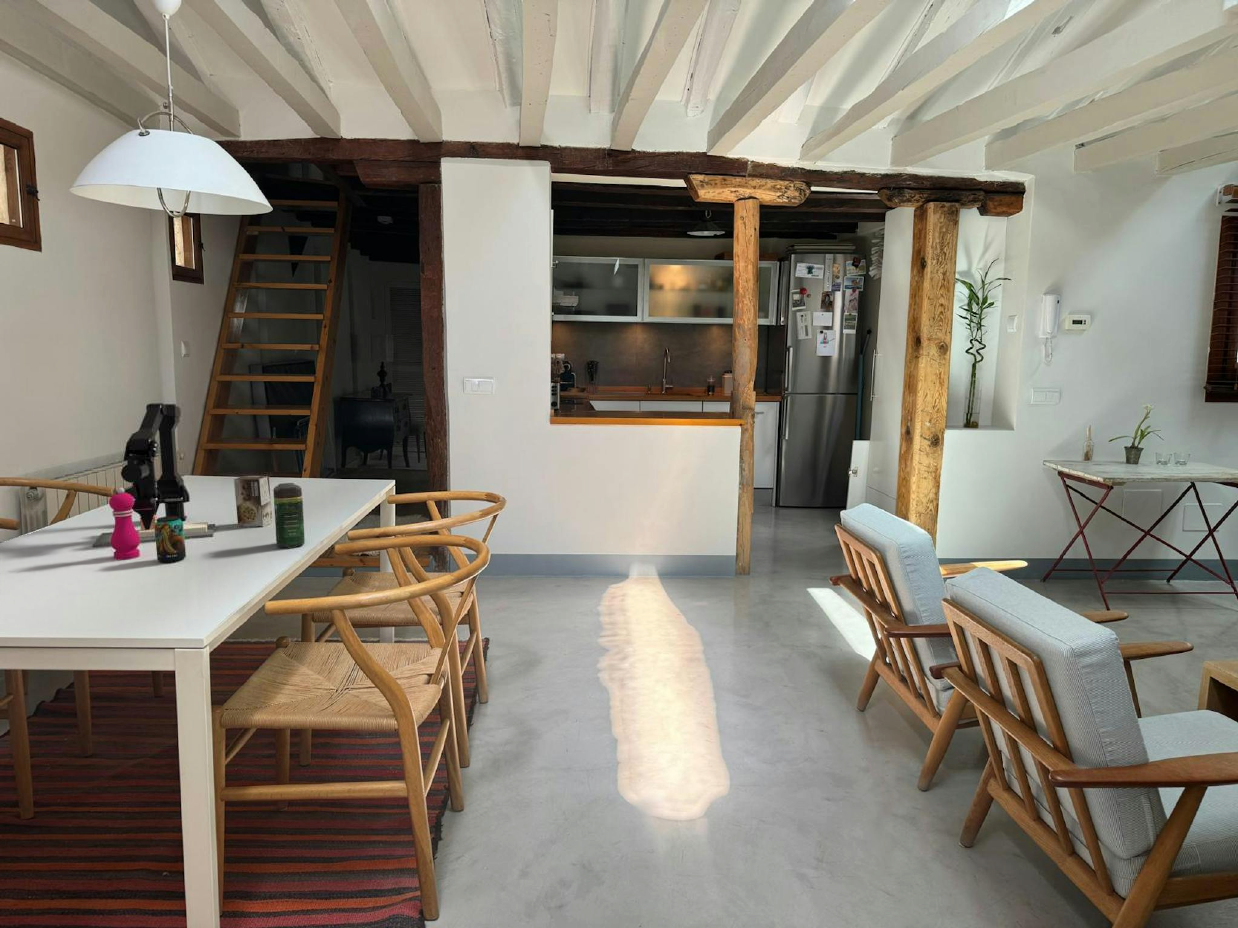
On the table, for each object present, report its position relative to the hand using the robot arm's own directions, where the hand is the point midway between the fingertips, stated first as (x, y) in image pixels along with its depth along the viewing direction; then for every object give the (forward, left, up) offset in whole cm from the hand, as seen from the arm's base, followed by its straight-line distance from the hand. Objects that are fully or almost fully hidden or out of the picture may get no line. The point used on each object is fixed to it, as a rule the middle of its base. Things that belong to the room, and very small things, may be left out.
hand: (149, 526), depth 251 cm
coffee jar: (+29, +40, -4) cm, 50 cm away
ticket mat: (0, +2, -3) cm, 4 cm away
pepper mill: (+25, -3, -4) cm, 25 cm away
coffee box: (-5, +30, -4) cm, 31 cm away
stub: (0, +1, -3) cm, 3 cm away
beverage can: (+34, +9, -4) cm, 35 cm away
